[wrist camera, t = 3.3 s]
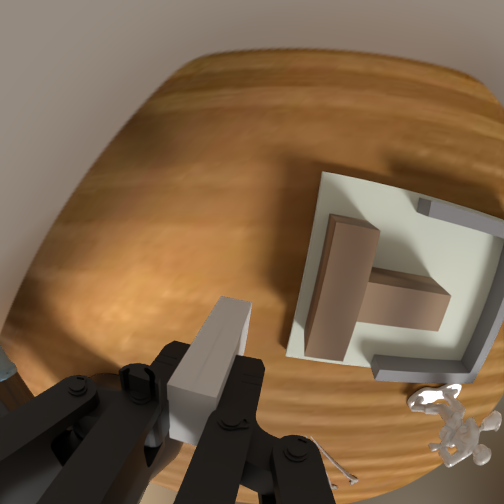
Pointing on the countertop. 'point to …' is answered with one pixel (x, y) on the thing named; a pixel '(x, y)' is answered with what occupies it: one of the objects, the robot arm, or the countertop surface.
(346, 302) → the t block
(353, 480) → the silver tweezers
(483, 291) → the board
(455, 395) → the figurine
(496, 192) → the countertop surface
